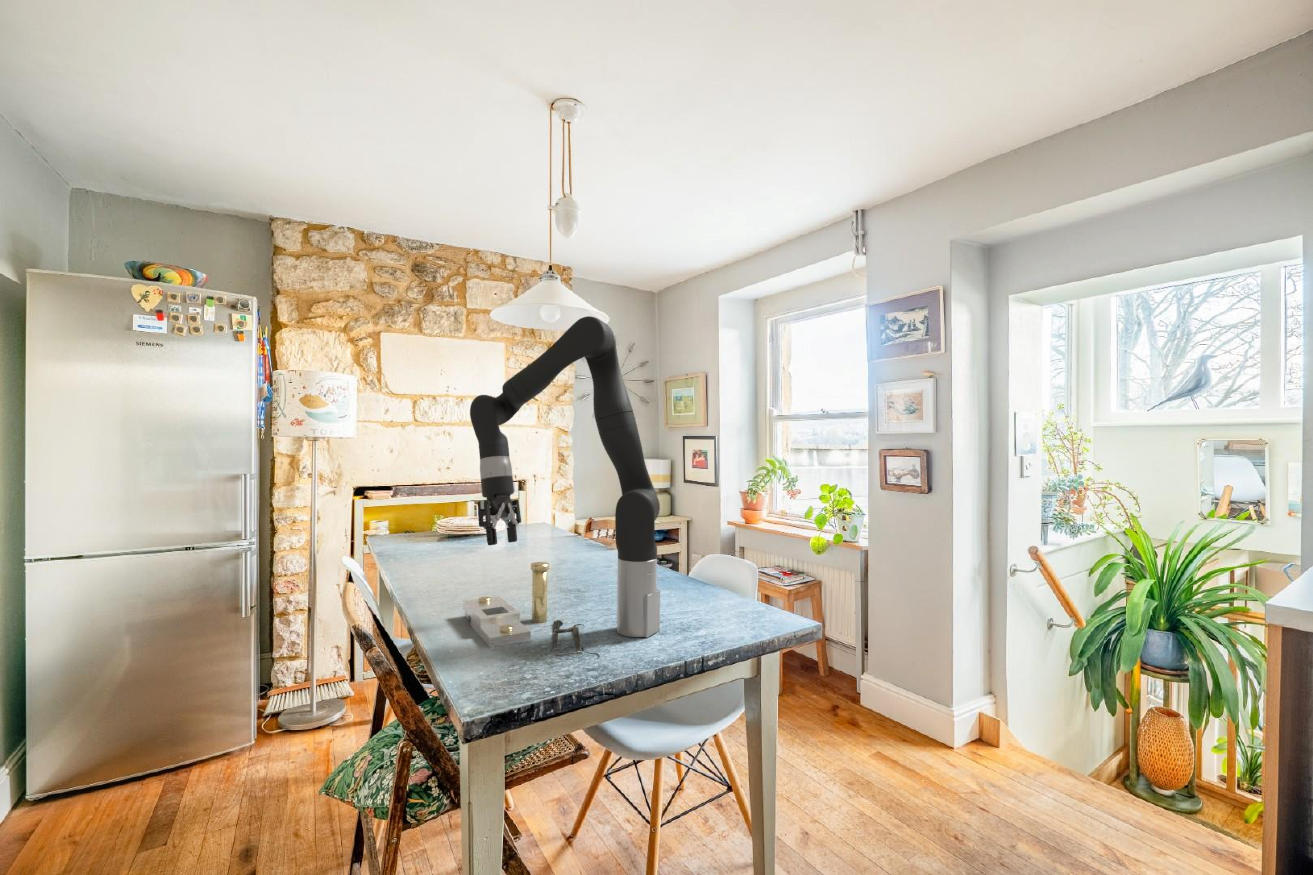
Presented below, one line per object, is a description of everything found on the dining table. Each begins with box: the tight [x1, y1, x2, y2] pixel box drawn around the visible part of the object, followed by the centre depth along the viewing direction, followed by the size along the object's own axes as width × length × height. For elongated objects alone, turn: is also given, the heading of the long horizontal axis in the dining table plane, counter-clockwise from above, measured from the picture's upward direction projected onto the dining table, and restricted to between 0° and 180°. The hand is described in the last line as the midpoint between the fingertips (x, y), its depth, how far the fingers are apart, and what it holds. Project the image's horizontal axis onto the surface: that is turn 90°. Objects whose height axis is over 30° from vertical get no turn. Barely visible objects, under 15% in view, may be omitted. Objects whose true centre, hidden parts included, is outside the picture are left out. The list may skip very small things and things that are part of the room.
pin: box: [530, 561, 550, 624], centre depth 143 cm, size 4×4×14 cm
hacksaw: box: [550, 619, 600, 660], centre depth 130 cm, size 24×10×2 cm, turn 8°
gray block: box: [462, 595, 531, 648], centre depth 137 cm, size 24×9×5 cm, turn 32°
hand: (503, 543), depth 139 cm, fingers open, 8 cm apart
